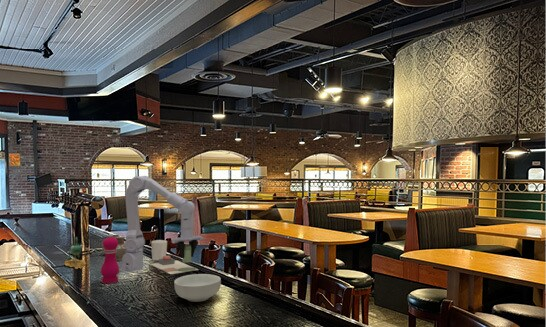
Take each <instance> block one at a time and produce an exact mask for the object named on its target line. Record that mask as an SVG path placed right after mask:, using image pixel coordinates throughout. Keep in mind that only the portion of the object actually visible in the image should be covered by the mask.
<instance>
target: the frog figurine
mask: <svg viewBox="0 0 546 327" xmlns="http://www.w3.org/2000/svg"><path fill="white" fill-rule="evenodd" d="M78 240H79V239H78V236H76V237H75V242H74V243H71V244H70V245H69V247H70V249H69V250H68V252H67V254H68V255H67V257H66V258H67V259H66V260H64V261H65V262H64V265H65V266H66V267H70V268H74V269H76V270H77V269H78V268H80V269H82V268H84V267H85V266H86V265H87V262H85V261H84V260H83V259H79V258H80V254H81V253H83V254H84V255H86V253H85V252H84V251H83V250H82V249H83V248H84V243H83V242H81V243H78ZM71 254H72V255H73V256H74V258H72V255H71ZM76 256H77V257H76ZM77 258H78V259H77ZM78 270H79V269H78Z"/></svg>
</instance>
